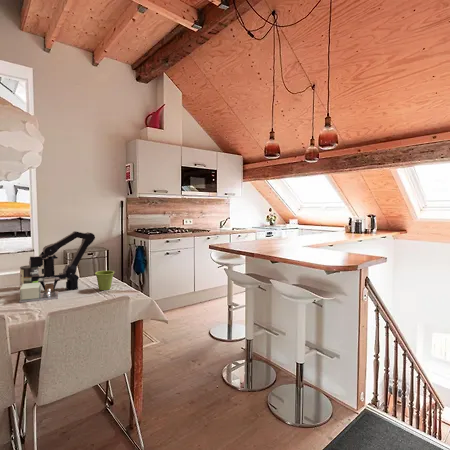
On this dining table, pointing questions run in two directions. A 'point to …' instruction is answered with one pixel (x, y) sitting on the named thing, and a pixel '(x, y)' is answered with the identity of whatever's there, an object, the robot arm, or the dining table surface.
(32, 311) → the dining table surface
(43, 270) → the robot arm
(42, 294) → the housing base
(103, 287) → the plant pot
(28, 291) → the cover
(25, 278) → the coffee can
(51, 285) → the walnut block
